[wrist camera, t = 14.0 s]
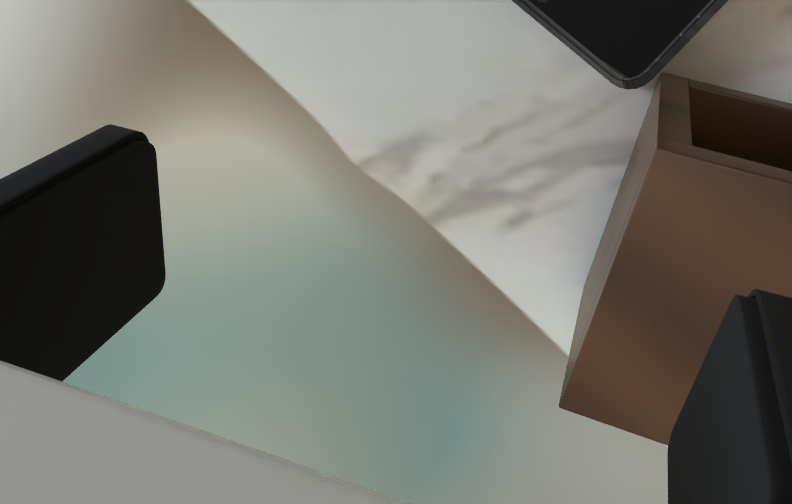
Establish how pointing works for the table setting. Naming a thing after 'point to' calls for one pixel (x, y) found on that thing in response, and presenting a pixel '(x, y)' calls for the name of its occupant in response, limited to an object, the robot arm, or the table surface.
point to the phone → (623, 32)
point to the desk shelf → (681, 251)
